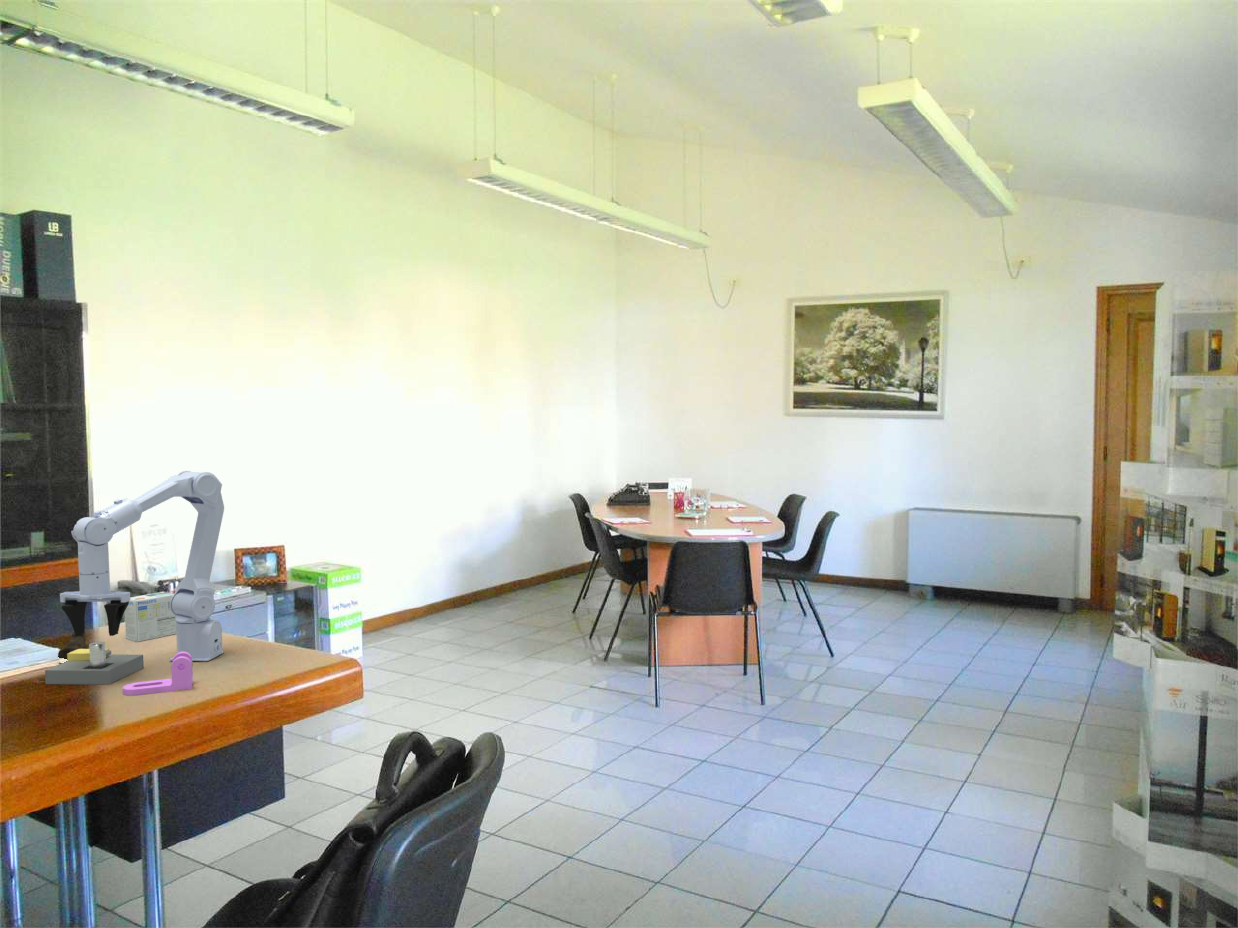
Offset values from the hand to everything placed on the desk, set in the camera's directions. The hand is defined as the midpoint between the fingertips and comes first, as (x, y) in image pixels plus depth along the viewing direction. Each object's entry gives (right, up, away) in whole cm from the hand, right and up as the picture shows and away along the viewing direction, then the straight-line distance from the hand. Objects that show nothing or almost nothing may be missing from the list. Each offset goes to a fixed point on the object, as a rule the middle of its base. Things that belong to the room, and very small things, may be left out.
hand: (96, 634), depth 197 cm
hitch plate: (-2, -10, +4) cm, 11 cm away
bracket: (+17, -11, -7) cm, 21 cm away
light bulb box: (-8, -8, +40) cm, 41 cm away
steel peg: (0, -10, +1) cm, 10 cm away
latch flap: (-5, -7, +7) cm, 11 cm away
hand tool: (-19, -9, +23) cm, 31 cm away
